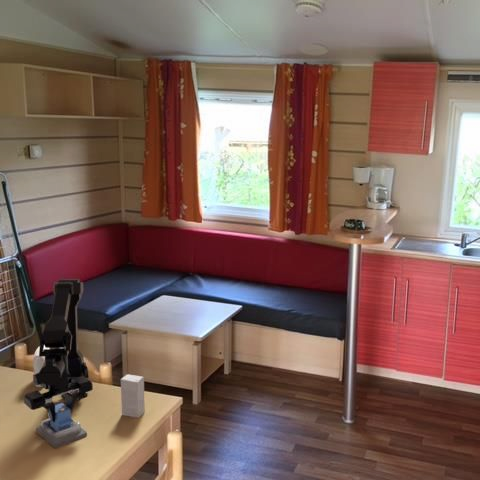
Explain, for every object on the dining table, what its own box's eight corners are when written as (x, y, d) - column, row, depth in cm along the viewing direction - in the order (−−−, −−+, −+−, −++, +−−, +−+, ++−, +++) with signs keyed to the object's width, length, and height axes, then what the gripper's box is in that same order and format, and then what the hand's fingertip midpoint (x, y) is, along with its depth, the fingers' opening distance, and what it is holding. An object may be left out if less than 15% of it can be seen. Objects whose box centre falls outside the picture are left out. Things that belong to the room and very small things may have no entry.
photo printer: (46, 387, 202) (44, 353, 199) (33, 387, 201) (30, 353, 199) (52, 374, 212) (50, 341, 209) (40, 374, 211) (38, 341, 209)
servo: (61, 419, 177) (59, 399, 176) (73, 430, 171) (72, 409, 170) (48, 424, 175) (47, 403, 173) (60, 435, 169) (59, 413, 167)
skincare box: (145, 412, 186) (144, 376, 184) (138, 418, 182) (137, 382, 180) (128, 408, 188) (127, 373, 185) (121, 415, 184) (120, 379, 182)
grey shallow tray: (67, 419, 181) (67, 409, 180) (87, 435, 172) (86, 424, 172) (36, 431, 174) (35, 420, 174) (54, 448, 166) (53, 436, 165)
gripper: (74, 352, 181) (76, 399, 184) (13, 369, 169) (17, 419, 172) (92, 363, 173) (94, 412, 176) (30, 382, 161) (34, 434, 164)
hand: (60, 419), depth 172 cm, fingers closed on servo, 4 cm apart
